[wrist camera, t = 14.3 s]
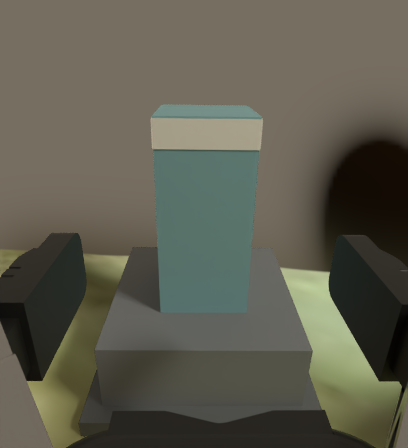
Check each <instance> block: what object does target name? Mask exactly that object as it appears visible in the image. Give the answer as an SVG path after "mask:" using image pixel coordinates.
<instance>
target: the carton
mask: <svg viewBox="0 0 408 448" xmlns="http://www.w3.org/2000/svg"><path fill="white" fill-rule="evenodd" d="M262 125H263V119H262V117H261V116H260V115H258V114H257V113H256V112H255V111H254V110H252V109H251V108H250V107H249V106H225V105H223V106H222V105H161V106H160V107H159V109H158V110H157V111H156V112H155V113H154V114H153V115H152V117H151V137H152V149H153V153H154V154H153V155H154V176H155V197H156V199H155V200H156V221H157V245H158V267H159V289H160V312H161V313H247V300H248V287H249V274H250V262H251V249H252V234H253V223H254V210H255V197H256V184H257V172H258V160H259V150H261V138H262Z"/></svg>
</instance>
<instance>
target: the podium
mask: <svg viewBox="0 0 408 448" xmlns="http://www.w3.org/2000/svg"><path fill="white" fill-rule="evenodd" d="M94 351H95V357H96V364H97V370H96V373H95V376H94V379H93V382H92V385H91V388H90V391H89V394H88V397H87V400H86V403H85V406H84V409H83V411H82V414H81V417H80V420H79V428H80V433H81V436H90V435H92V434H95V433H98V432H101V431H104V430H108V428H109V424H110V420H111V416H112V412H113V411H169V412H173V413H177V414H181V415H185V416H189V417H194V418H198V419H202V420H206V421H210V422H214V423H225V422H230V421H233V420H237V419H241V418H245V417H249V416H253V415H257V414H261V413H265V412H269V411H272V410H322V409H321V406H320V404H319V401H318V398H317V395H316V392H315V390H314V387H313V384H312V381H311V378H310V375H309V368H310V362H311V357H312V352H313V351H312V348H311V346H310V343H309V341H308V338H307V336H306V333H305V330H304V328H303V325H302V323H301V320H300V318H299V315H298V313H297V310H296V308H295V305H294V303H293V300H292V297H291V295H290V292H289V290H288V287H287V285H286V282H285V280H284V277H283V275H282V272H281V270H280V267H279V265H278V262H277V260H276V257H275V255H274V252H273V250H272V248H252V249H251V262H250V274H249V287H248V300H247V313H161V312H160V289H159V267H158V247H155V248H154V247H152V248H151V247H133V248H132V251H131V253H130V256H129V258H128V261H127V264H126V267H125V269H124V272H123V275H122V277H121V280H120V283H119V285H118V288H117V291H116V293H115V296H114V299H113V302H112V304H111V307H110V310H109V312H108V315H107V318H106V320H105V323H104V326H103V328H102V331H101V334H100V337H99V339H98V342H97V345H96V347H95V350H94Z"/></svg>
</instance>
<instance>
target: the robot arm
mask: <svg viewBox="0 0 408 448" xmlns="http://www.w3.org/2000/svg"><path fill="white" fill-rule="evenodd" d="M85 291H86V272H85V265H84V258H83V251H82V244H81V239H80V236H79V234H78V233H51V234H50V235H49V236H48V237H47V239H46V240H45V241H44V242H43V243H42V244H41V246H40V247H39V248H37V249H36V248H33V249H32V250H30V251H28V252H26V253H25V254H23V255H21V256H19V257H18V258H17V259H16V260H15V261H14V262H13V263H12V264H11V265H10V267H9V269H7V270H6V271H5V272H4V273H3V274H2V275H1V277H0V448H53V447H52V444H51V441H50V439H49V436H48V434H47V431H46V429H45V426H44V424H43V421H42V419H41V416H40V414H39V411H38V409H37V406H36V404H35V401H34V399H33V396H32V394H31V391H30V389H29V386H28V384H27V381H42V380H43V378H44V376H45V374H46V372H47V370H48V368H49V366H50V364H51V362H52V360H53V358H54V356H55V354H56V352H57V350H58V348H59V346H60V344H61V342H62V340H63V338H64V336H65V334H66V332H67V330H68V328H69V326H70V324H71V322H72V320H73V318H74V316H75V314H76V312H77V310H78V308H79V306H80V304H81V302H82V300H83V297H84V295H85ZM329 292H330V295H331V298H332V300H333V302H334V303H335V305H336V307H337V309H338V310H339V312H340V314H341V316H342V317H343V319H344V321H345V323H346V324H347V326H348V328H349V329H350V331H351V333H352V335H353V336H354V338H355V340H356V342H357V343H358V345H359V347H360V349H361V350H362V352H363V354H364V356H365V357H366V359H367V361H368V363H369V364H370V366H371V368H372V370H373V371H374V373H375V375H376V377H377V378H378V380H379V381H399V382H400V384H401V385H402V388H401V391H400V394H399V397H398V400H397V404H396V408H395V411H394V415H393V419H392V422H391V426H390V430H389V433H388V437H387V441H386V444H385V448H408V268H407V267H406V266H405V265H404V264H403V263H402V262H401V261H400V260H399V259H397V258H395V257H393V256H391V255H390V254H388V253H386V252H384V251H381V250H380V249H379V248H378V247H377V246H376V245H375V244H374V243H373V242H372V241H371V240H370V239H369V238H368V237H367V236H365V235H340V236H339V237H338V238H337V240H336V244H335V249H334V254H333V260H332V265H331V271H330V276H329ZM66 448H375V447H374V446H372V445H370V444H368V443H367V442H365V441H363V440H361V439H358V438H356V437H354V436H352V435H349V434H347V433H344V432H341V431H338V430H334V429H332V428H331V426H330V423H329V420H328V418H327V415H326V412H325V410H272V411H269V412H265V413H261V414H257V415H253V416H249V417H245V418H241V419H237V420H233V421H230V422H225V423H214V422H210V421H206V420H202V419H198V418H194V417H189V416H185V415H181V414H177V413H173V412H169V411H113V412H112V416H111V420H110V424H109V428H108V430H104V431H101V432H98V433H95V434H92V435H90V436H87V437H85V438H83V439H81V440H79V441H77V442H75V443H73V444H71V445H70V446H68V447H66Z"/></svg>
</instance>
